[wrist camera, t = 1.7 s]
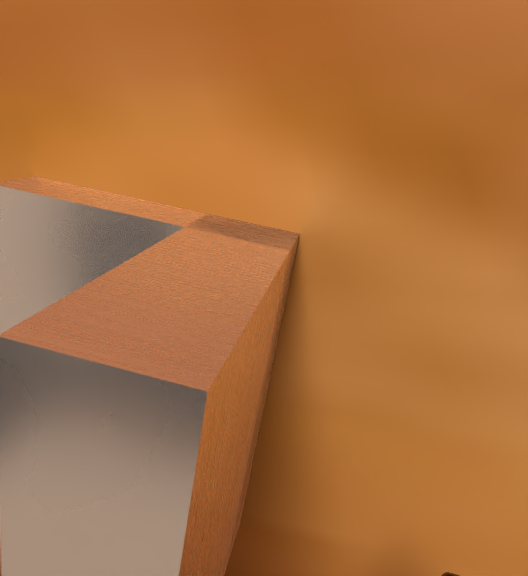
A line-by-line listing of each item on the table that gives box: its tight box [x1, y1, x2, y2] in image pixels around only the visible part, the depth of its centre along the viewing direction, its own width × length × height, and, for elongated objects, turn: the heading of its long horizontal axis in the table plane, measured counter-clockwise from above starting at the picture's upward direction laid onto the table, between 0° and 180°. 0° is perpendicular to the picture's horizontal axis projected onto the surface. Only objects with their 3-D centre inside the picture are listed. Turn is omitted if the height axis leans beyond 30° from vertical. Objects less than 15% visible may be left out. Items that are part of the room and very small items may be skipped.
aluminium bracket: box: [0, 176, 299, 576], centre depth 9 cm, size 8×6×6 cm
